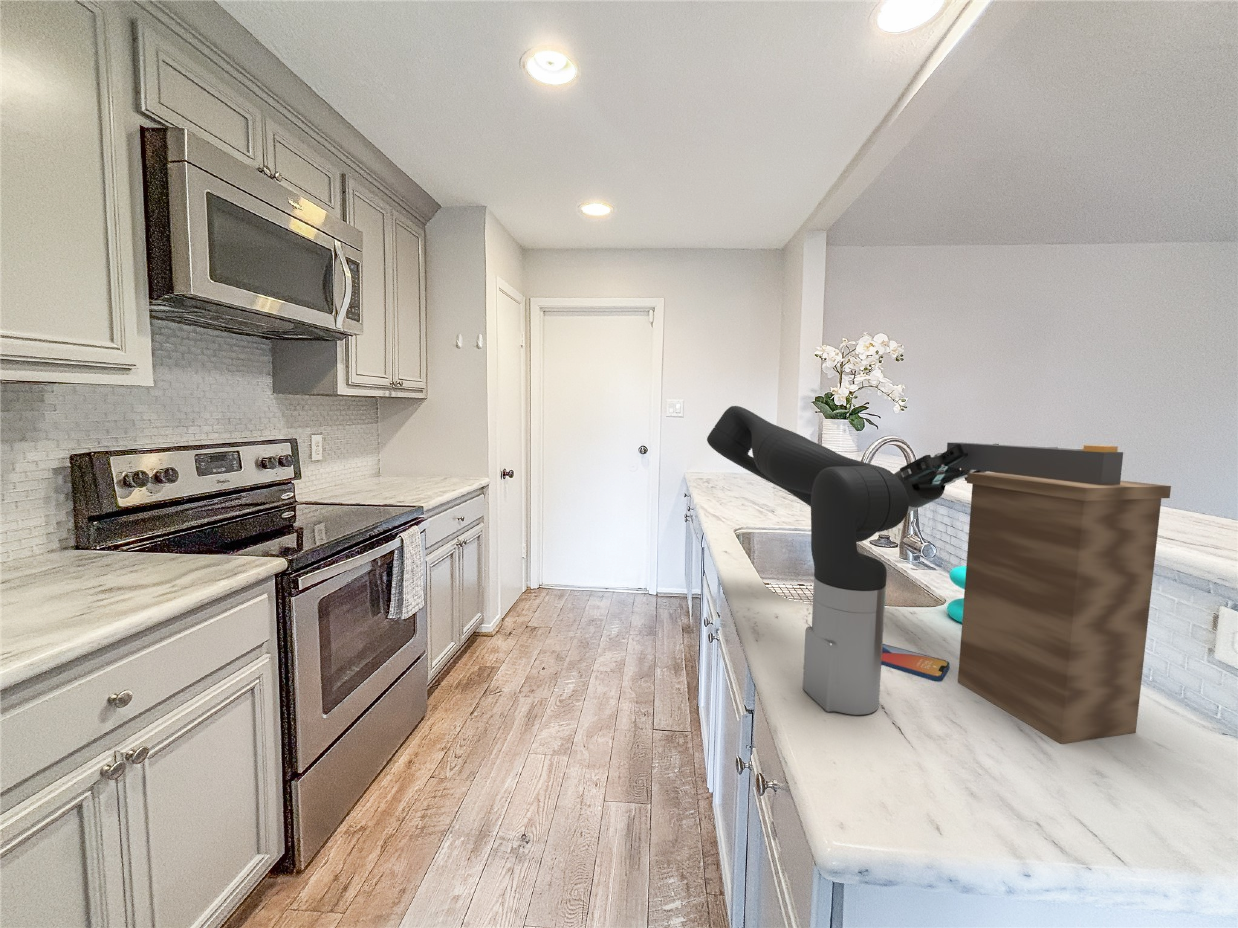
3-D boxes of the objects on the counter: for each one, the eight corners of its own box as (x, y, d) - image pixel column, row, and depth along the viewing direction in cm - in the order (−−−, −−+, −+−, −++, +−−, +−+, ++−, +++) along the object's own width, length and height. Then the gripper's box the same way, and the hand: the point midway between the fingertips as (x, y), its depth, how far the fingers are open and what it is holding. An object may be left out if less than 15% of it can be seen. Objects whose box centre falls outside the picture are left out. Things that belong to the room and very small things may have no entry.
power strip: (1100, 484, 63) (1104, 446, 62) (945, 466, 85) (947, 438, 85) (1120, 484, 63) (1123, 446, 63) (960, 466, 86) (962, 438, 85)
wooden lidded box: (1061, 746, 63) (1086, 488, 60) (952, 680, 78) (967, 472, 75) (1143, 734, 65) (1171, 485, 62) (1021, 672, 81) (1039, 471, 78)
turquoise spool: (1011, 583, 94) (946, 572, 100) (1006, 635, 95) (943, 621, 101) (1012, 570, 102) (953, 561, 108) (1008, 619, 102) (949, 607, 109)
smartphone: (854, 641, 93) (854, 635, 93) (950, 667, 83) (951, 661, 83) (839, 654, 88) (839, 648, 88) (940, 684, 78) (940, 678, 77)
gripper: (868, 471, 95) (935, 427, 80) (934, 470, 98) (1010, 428, 83) (881, 509, 92) (952, 471, 77) (948, 507, 95) (1030, 470, 80)
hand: (982, 449), depth 80 cm, fingers open, 6 cm apart
